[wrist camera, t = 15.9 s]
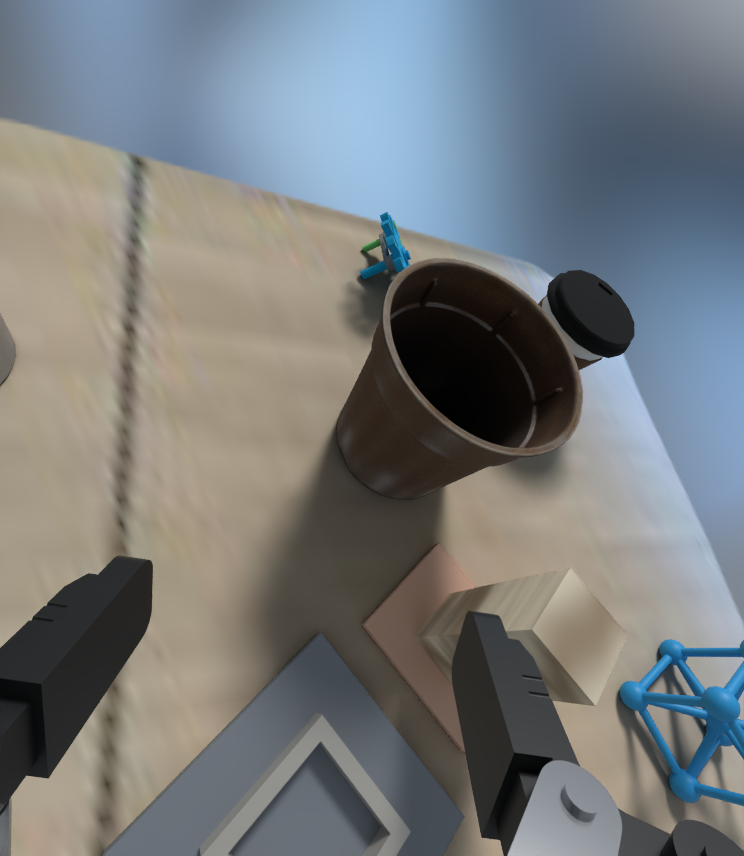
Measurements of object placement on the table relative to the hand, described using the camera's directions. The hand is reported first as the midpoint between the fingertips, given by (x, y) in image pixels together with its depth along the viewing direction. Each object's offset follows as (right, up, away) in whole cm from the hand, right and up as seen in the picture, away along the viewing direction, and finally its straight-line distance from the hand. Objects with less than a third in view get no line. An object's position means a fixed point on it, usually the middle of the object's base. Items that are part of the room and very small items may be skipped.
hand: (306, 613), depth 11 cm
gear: (+3, +23, +42) cm, 48 cm away
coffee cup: (+21, +12, +45) cm, 51 cm away
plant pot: (+4, +3, +32) cm, 33 cm away
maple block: (+8, -13, +25) cm, 29 cm away
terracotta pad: (+8, -13, +26) cm, 30 cm away
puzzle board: (-3, -21, +17) cm, 27 cm away
